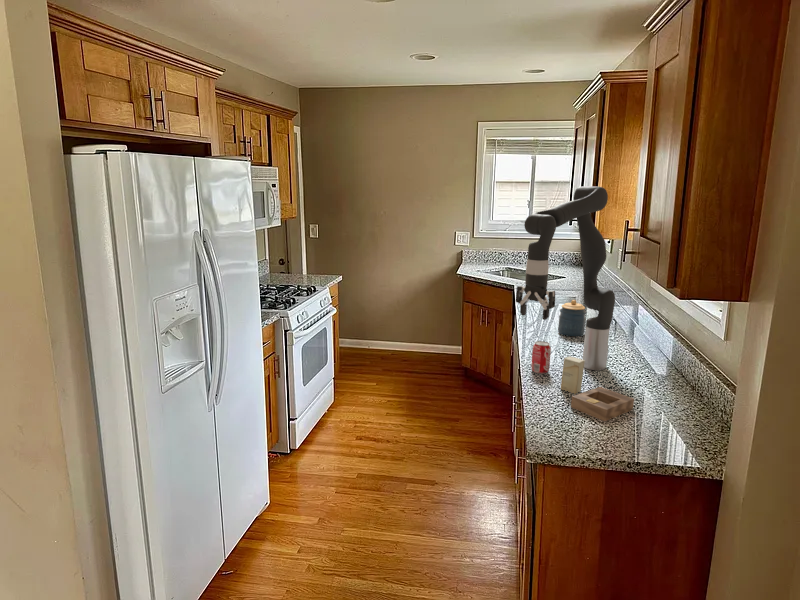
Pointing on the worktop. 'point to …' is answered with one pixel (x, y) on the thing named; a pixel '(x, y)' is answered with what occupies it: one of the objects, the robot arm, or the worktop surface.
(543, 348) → the soda can
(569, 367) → the skincare box
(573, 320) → the canister
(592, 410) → the brown square frame block
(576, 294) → the worktop surface
